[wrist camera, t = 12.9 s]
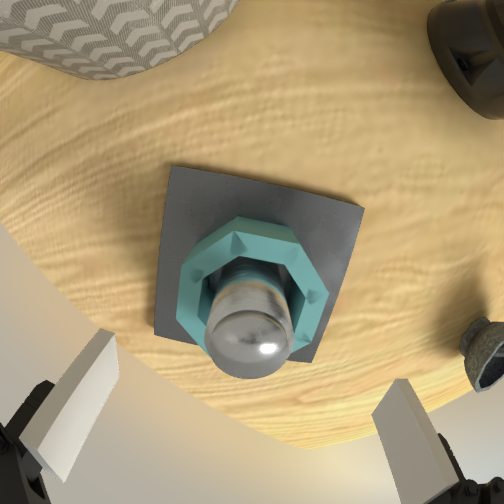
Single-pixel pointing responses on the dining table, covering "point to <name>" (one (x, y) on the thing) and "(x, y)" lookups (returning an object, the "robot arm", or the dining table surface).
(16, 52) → the planter
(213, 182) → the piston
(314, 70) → the dining table surface
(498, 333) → the mortar and pestle
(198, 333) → the ring
